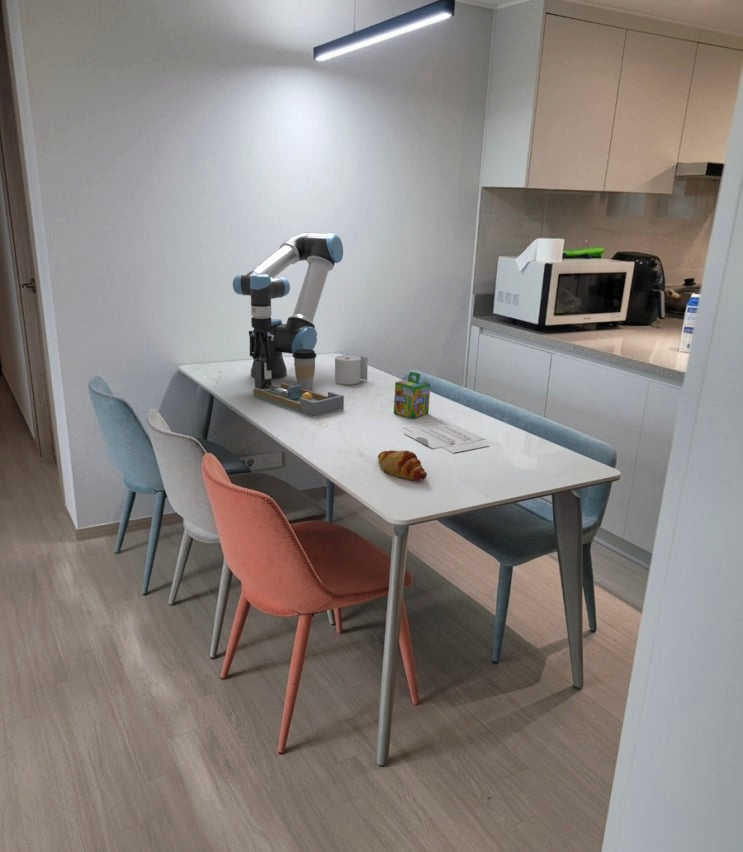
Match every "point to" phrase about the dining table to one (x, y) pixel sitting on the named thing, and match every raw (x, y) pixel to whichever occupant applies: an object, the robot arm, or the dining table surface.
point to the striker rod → (264, 383)
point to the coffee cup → (304, 367)
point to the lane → (285, 397)
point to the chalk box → (412, 397)
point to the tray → (445, 437)
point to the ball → (307, 396)
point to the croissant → (402, 464)
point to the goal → (322, 405)
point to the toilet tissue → (350, 369)
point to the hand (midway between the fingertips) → (263, 376)
